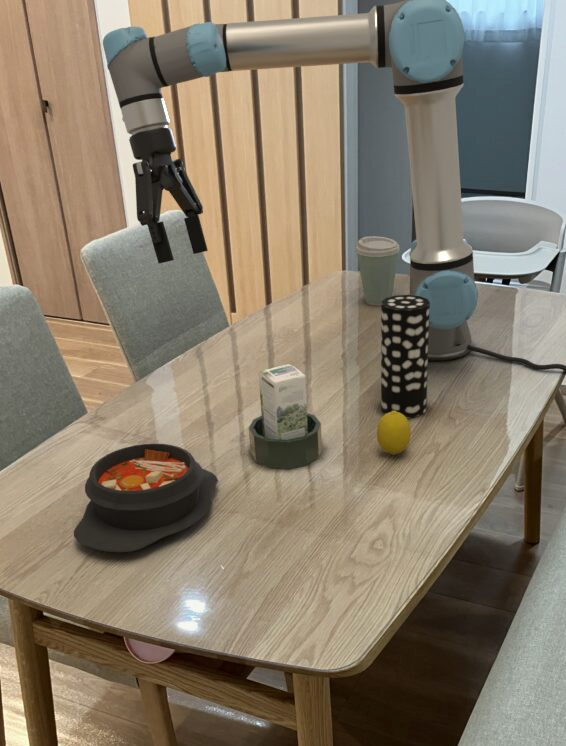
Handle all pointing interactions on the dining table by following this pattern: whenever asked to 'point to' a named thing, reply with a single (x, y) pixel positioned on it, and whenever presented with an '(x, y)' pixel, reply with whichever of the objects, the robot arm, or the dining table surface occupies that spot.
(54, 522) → the dining table surface
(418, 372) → the white-spotted black cylinder
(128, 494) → the casserole
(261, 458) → the crock
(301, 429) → the syrup box
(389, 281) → the disposable coffee cup
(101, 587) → the dining table surface
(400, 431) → the lemon
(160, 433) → the dining table surface
